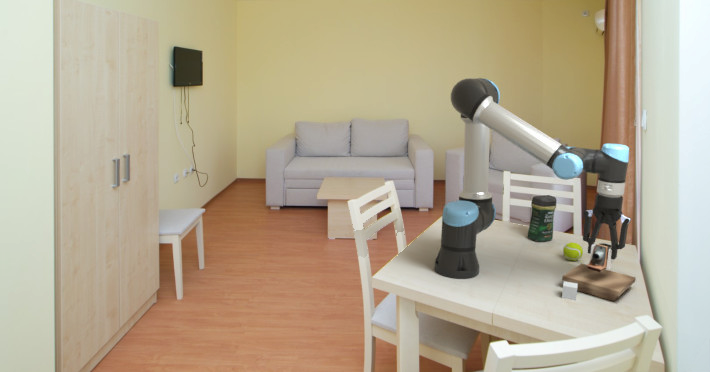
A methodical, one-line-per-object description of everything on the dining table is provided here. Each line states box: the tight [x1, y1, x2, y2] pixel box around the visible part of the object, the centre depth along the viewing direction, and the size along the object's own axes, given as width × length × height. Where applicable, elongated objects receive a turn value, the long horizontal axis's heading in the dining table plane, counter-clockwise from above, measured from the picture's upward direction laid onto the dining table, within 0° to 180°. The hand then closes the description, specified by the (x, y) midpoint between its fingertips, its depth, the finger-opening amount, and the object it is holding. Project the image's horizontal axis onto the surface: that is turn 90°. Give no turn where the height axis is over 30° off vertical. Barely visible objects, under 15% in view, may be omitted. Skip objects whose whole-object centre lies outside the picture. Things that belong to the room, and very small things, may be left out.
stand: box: [561, 263, 637, 302], centre depth 167 cm, size 17×16×4 cm
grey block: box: [561, 281, 578, 301], centre depth 160 cm, size 4×4×4 cm
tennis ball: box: [562, 242, 584, 262], centre depth 191 cm, size 7×7×7 cm
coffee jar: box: [527, 194, 557, 243], centre depth 213 cm, size 10×8×19 cm
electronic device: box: [586, 242, 612, 272], centre depth 164 cm, size 4×10×8 cm, turn 135°
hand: (600, 265), depth 165 cm, fingers closed on electronic device, 4 cm apart
